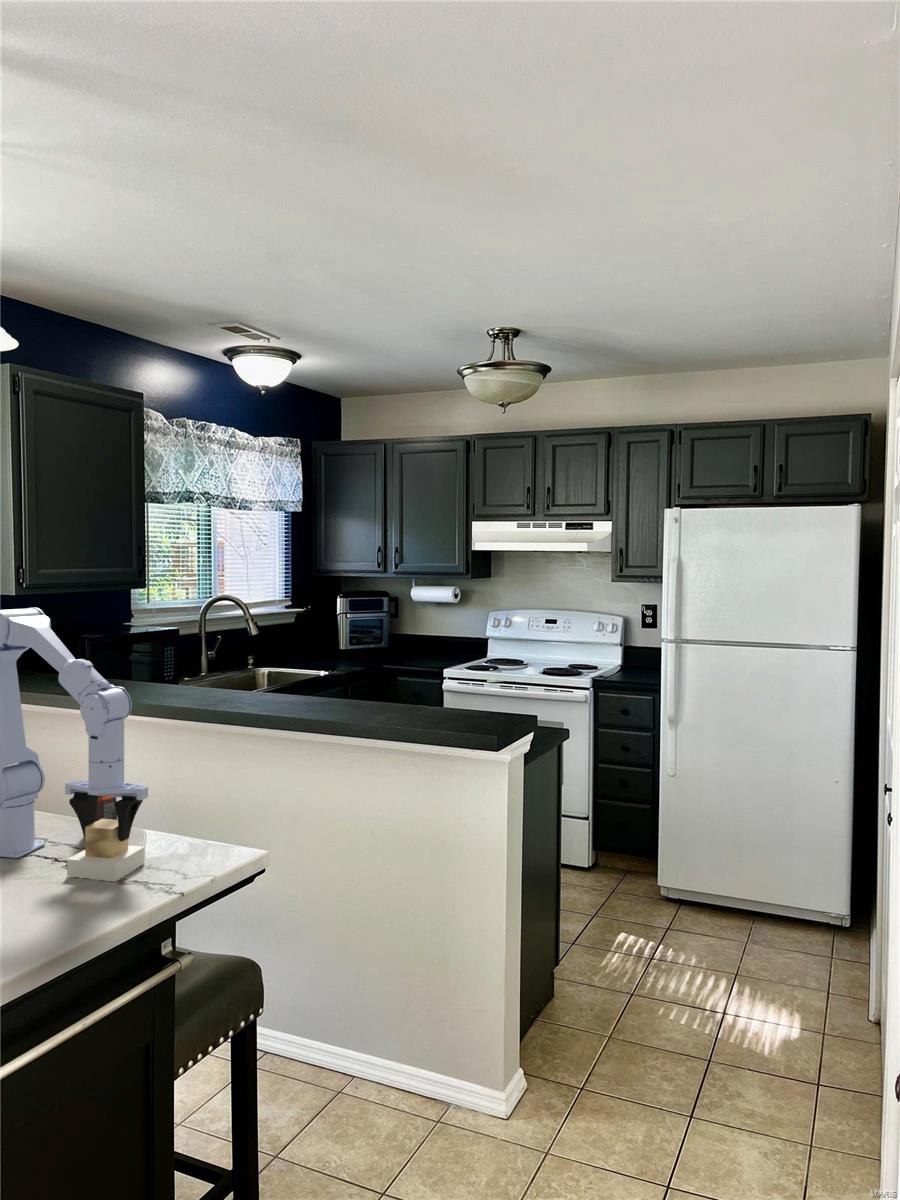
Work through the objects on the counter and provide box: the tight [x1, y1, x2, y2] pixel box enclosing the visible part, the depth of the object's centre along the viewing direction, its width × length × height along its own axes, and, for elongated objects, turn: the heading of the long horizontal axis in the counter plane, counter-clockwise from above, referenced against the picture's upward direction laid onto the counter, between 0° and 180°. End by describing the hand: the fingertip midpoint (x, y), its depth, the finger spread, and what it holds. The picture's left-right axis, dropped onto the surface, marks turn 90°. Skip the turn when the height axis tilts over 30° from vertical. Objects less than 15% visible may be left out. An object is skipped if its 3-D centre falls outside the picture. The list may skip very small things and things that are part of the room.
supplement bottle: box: [95, 796, 118, 822], centre depth 173 cm, size 6×6×11 cm
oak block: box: [84, 819, 129, 859], centre depth 154 cm, size 5×5×5 cm
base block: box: [66, 844, 146, 883], centre depth 154 cm, size 9×9×3 cm
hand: (106, 837), depth 154 cm, fingers open, 6 cm apart
